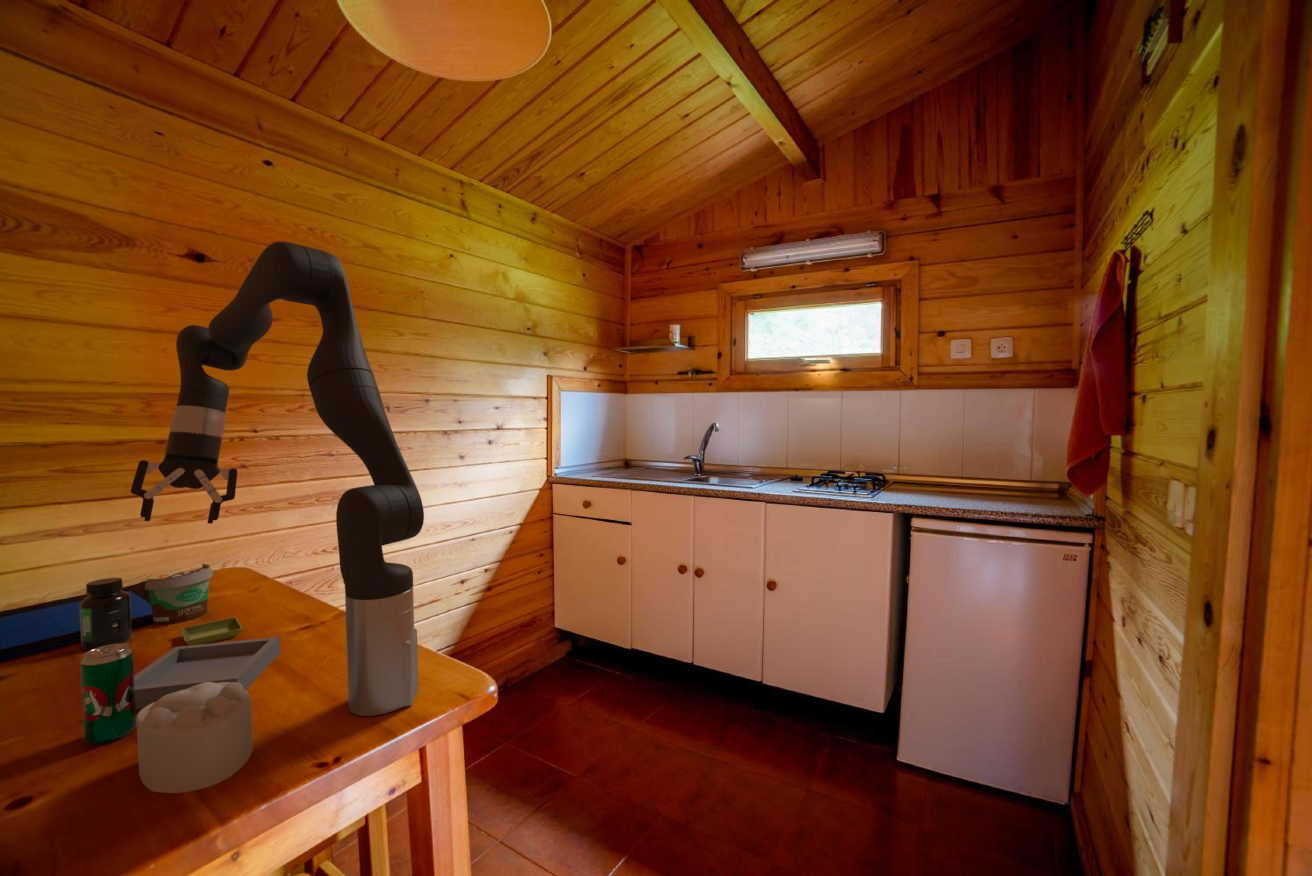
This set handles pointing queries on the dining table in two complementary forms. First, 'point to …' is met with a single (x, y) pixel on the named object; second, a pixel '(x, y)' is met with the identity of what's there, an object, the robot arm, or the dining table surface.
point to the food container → (179, 596)
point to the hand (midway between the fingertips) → (179, 522)
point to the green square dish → (211, 631)
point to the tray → (204, 667)
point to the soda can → (108, 693)
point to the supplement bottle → (105, 614)
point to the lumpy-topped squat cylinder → (194, 737)
